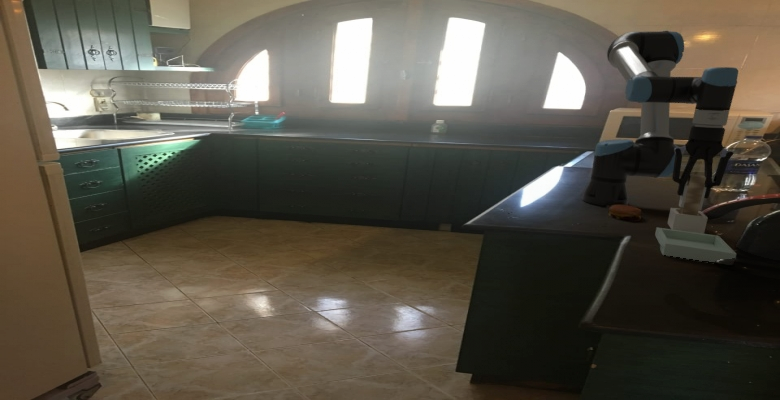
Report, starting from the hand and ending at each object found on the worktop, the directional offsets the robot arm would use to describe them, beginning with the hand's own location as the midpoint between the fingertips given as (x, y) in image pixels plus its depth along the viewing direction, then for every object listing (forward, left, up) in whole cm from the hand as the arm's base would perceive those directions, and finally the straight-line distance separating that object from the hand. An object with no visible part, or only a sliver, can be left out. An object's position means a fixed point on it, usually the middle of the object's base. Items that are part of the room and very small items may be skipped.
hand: (689, 207), depth 115 cm
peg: (0, 0, -7) cm, 7 cm away
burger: (-15, +5, -8) cm, 18 cm away
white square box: (0, 0, -8) cm, 8 cm away
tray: (-2, -18, -8) cm, 20 cm away
